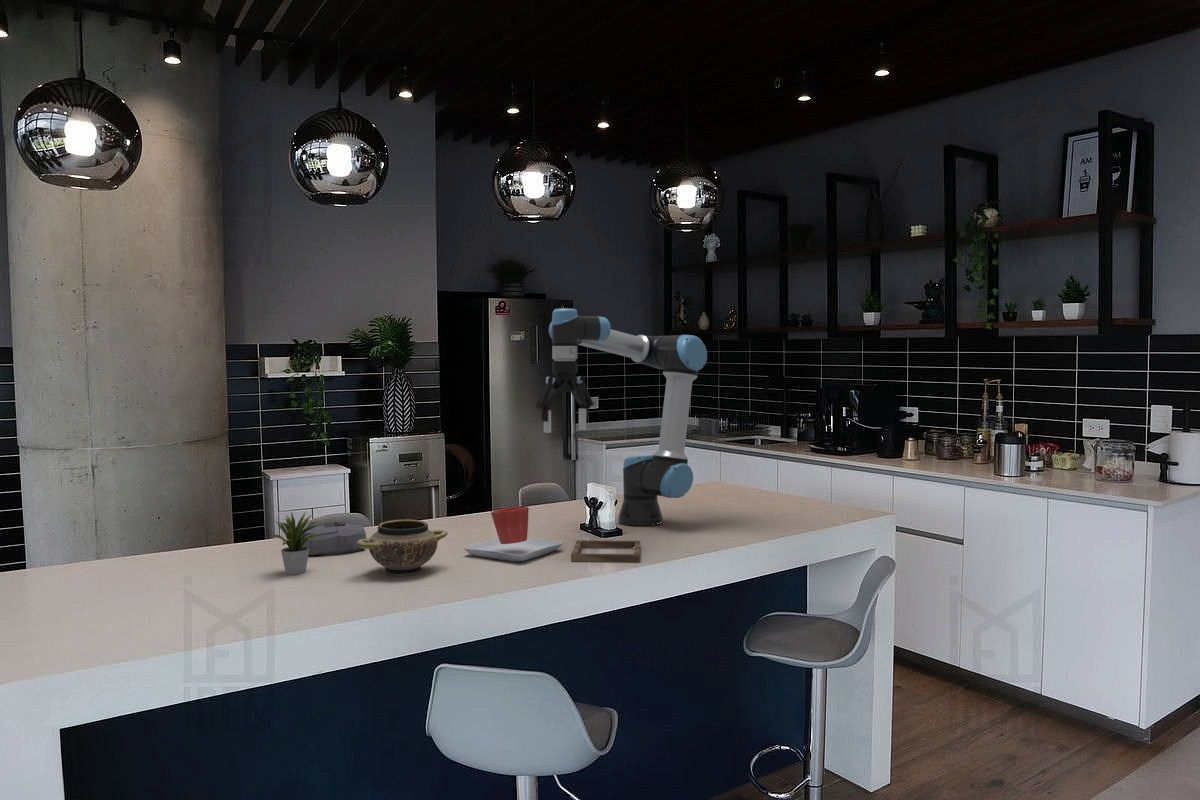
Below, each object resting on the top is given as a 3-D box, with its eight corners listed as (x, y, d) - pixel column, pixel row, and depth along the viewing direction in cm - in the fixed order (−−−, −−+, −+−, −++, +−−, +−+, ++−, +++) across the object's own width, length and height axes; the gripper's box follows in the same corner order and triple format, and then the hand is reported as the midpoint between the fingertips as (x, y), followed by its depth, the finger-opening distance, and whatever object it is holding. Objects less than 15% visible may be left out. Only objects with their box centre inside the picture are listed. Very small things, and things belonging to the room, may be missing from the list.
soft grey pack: (357, 543, 268) (290, 550, 258) (357, 516, 268) (289, 522, 257) (371, 552, 255) (301, 560, 245) (371, 524, 255) (300, 531, 244)
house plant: (312, 580, 222) (311, 517, 221) (259, 580, 223) (257, 517, 222) (330, 566, 236) (329, 507, 236) (280, 566, 237) (279, 507, 236)
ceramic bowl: (362, 593, 219) (365, 539, 215) (347, 562, 234) (350, 511, 230) (455, 582, 231) (459, 530, 227) (436, 553, 246) (439, 504, 242)
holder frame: (576, 546, 261) (576, 540, 260) (640, 547, 259) (640, 540, 259) (571, 561, 242) (570, 554, 241) (639, 562, 240) (639, 555, 240)
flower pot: (513, 539, 259) (509, 507, 260) (540, 538, 253) (535, 505, 253) (487, 546, 251) (483, 512, 251) (514, 545, 244) (509, 510, 245)
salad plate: (507, 544, 267) (506, 533, 267) (564, 552, 256) (564, 541, 256) (461, 558, 249) (461, 546, 248) (521, 567, 238) (521, 555, 237)
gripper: (539, 360, 248) (539, 434, 249) (604, 360, 265) (604, 429, 266) (523, 360, 254) (524, 432, 255) (588, 360, 271) (588, 428, 272)
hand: (565, 431), depth 261 cm, fingers open, 13 cm apart
